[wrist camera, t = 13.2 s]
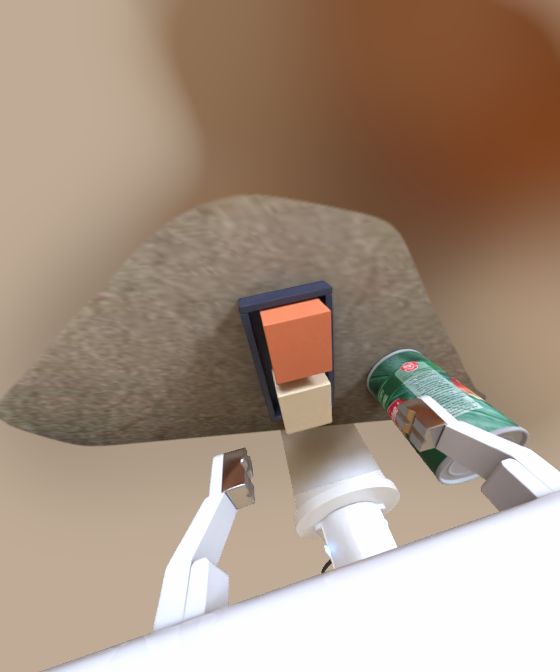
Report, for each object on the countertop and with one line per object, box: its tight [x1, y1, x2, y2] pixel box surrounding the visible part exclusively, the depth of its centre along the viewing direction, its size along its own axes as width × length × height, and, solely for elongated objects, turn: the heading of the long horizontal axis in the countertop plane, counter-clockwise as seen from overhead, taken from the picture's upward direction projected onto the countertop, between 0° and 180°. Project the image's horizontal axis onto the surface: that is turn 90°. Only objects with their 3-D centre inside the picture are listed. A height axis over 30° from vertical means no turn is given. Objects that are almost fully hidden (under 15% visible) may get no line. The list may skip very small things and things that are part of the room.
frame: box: [239, 281, 334, 422], centre depth 21 cm, size 15×8×2 cm, turn 10°
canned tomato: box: [367, 349, 529, 485], centre depth 21 cm, size 8×8×11 cm
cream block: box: [272, 369, 332, 435], centre depth 21 cm, size 6×5×4 cm
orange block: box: [259, 297, 332, 384], centre depth 17 cm, size 6×5×4 cm
